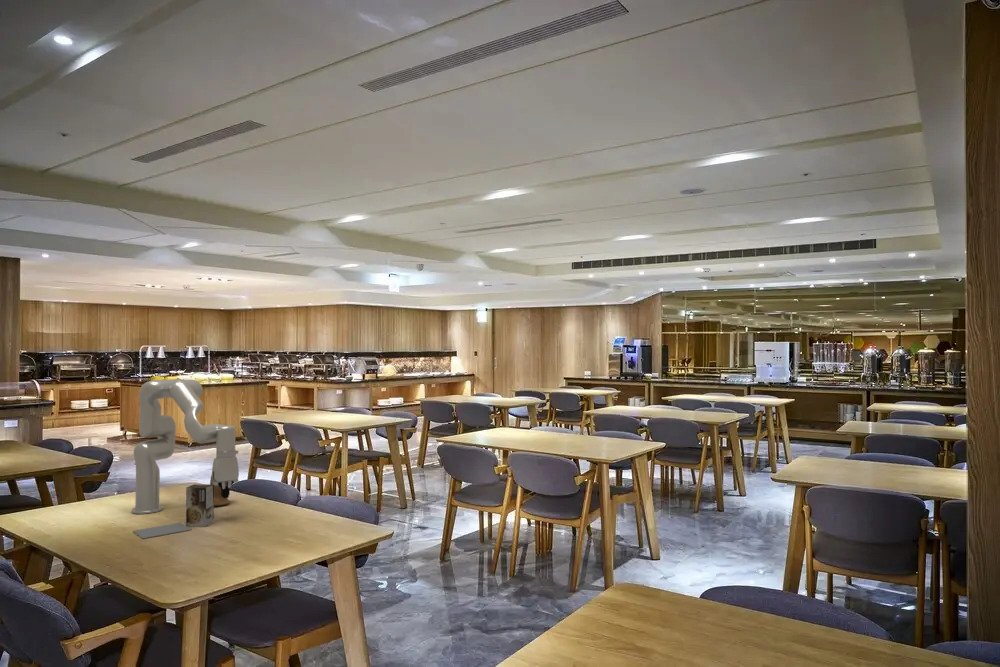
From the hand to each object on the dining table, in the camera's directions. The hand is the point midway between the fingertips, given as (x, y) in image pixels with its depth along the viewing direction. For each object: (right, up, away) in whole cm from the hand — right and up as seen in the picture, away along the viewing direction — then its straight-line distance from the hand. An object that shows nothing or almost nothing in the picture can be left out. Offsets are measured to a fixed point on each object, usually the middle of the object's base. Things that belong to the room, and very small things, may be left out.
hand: (225, 497), depth 278 cm
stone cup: (-16, -11, +29) cm, 35 cm away
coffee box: (-7, -10, -7) cm, 14 cm away
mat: (-18, -9, -17) cm, 27 cm away
